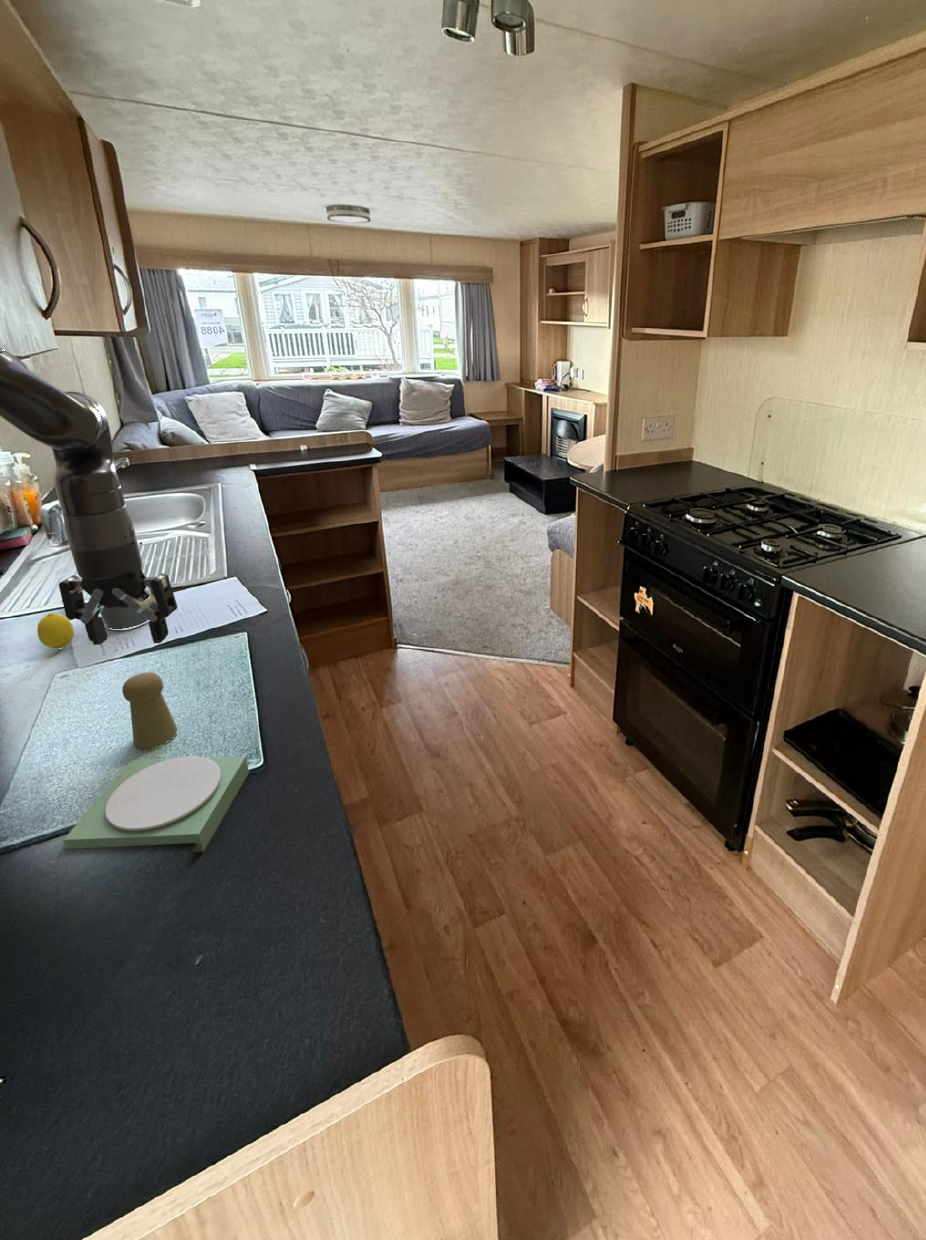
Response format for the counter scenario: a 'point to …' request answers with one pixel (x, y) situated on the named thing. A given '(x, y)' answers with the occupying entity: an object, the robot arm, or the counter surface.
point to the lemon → (55, 630)
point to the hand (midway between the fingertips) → (131, 641)
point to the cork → (148, 711)
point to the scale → (162, 803)
